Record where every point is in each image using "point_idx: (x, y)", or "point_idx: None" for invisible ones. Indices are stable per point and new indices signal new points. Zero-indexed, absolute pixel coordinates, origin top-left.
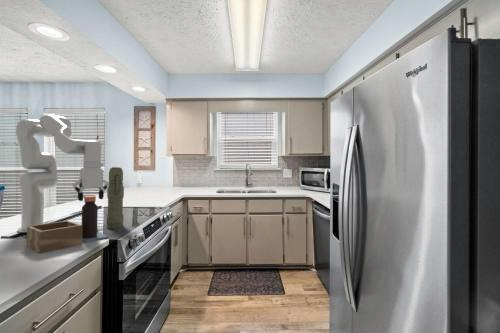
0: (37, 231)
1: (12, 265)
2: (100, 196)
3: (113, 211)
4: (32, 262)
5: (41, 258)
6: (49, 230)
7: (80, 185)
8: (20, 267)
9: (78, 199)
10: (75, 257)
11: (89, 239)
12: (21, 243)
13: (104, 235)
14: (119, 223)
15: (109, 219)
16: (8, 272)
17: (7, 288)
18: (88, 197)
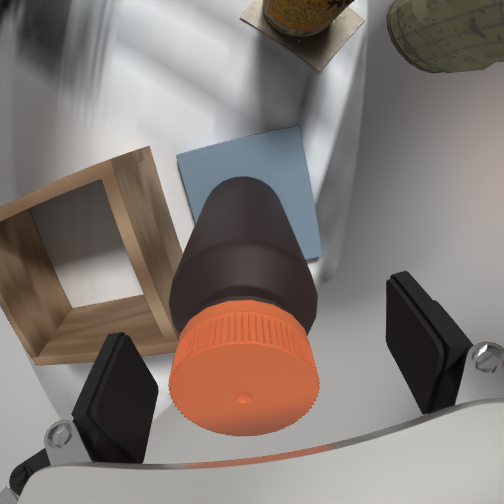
0: (22, 339)
1: (42, 367)
2: (399, 341)
3: (471, 44)
4: (74, 376)
5: (85, 362)
6: (58, 363)
7: (39, 493)
8: (62, 389)
9: (107, 337)
10: (167, 403)
11: None
12: (3, 136)
13: (314, 232)
14: (450, 72)
15: (420, 35)
16: (53, 399)
17: None
18: (213, 427)
